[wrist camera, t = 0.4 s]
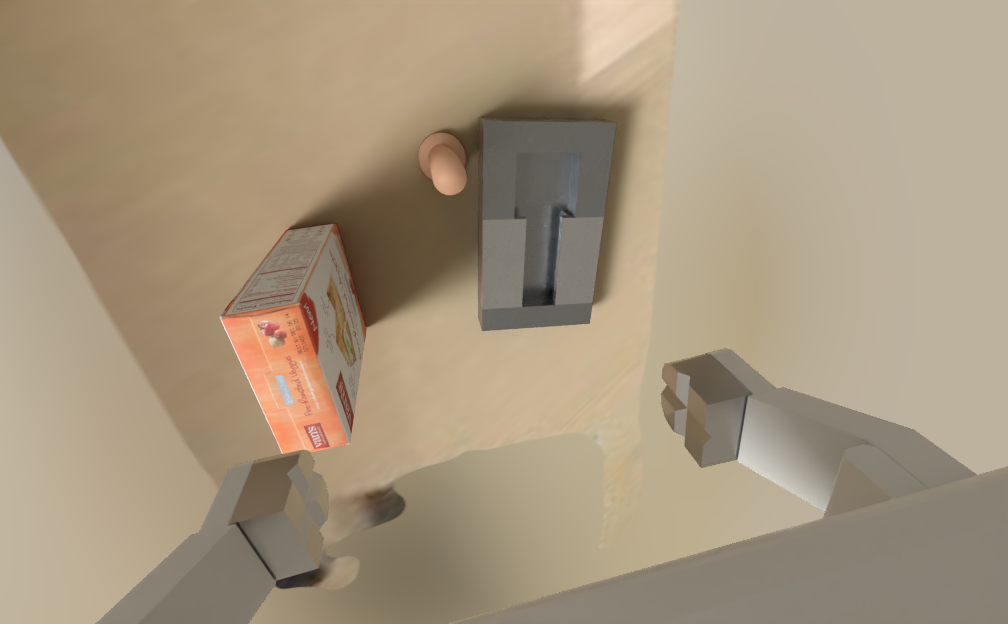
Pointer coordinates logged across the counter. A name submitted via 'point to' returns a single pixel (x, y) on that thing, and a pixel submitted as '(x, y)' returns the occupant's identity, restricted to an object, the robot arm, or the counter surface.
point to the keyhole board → (540, 219)
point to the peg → (444, 162)
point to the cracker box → (301, 339)
